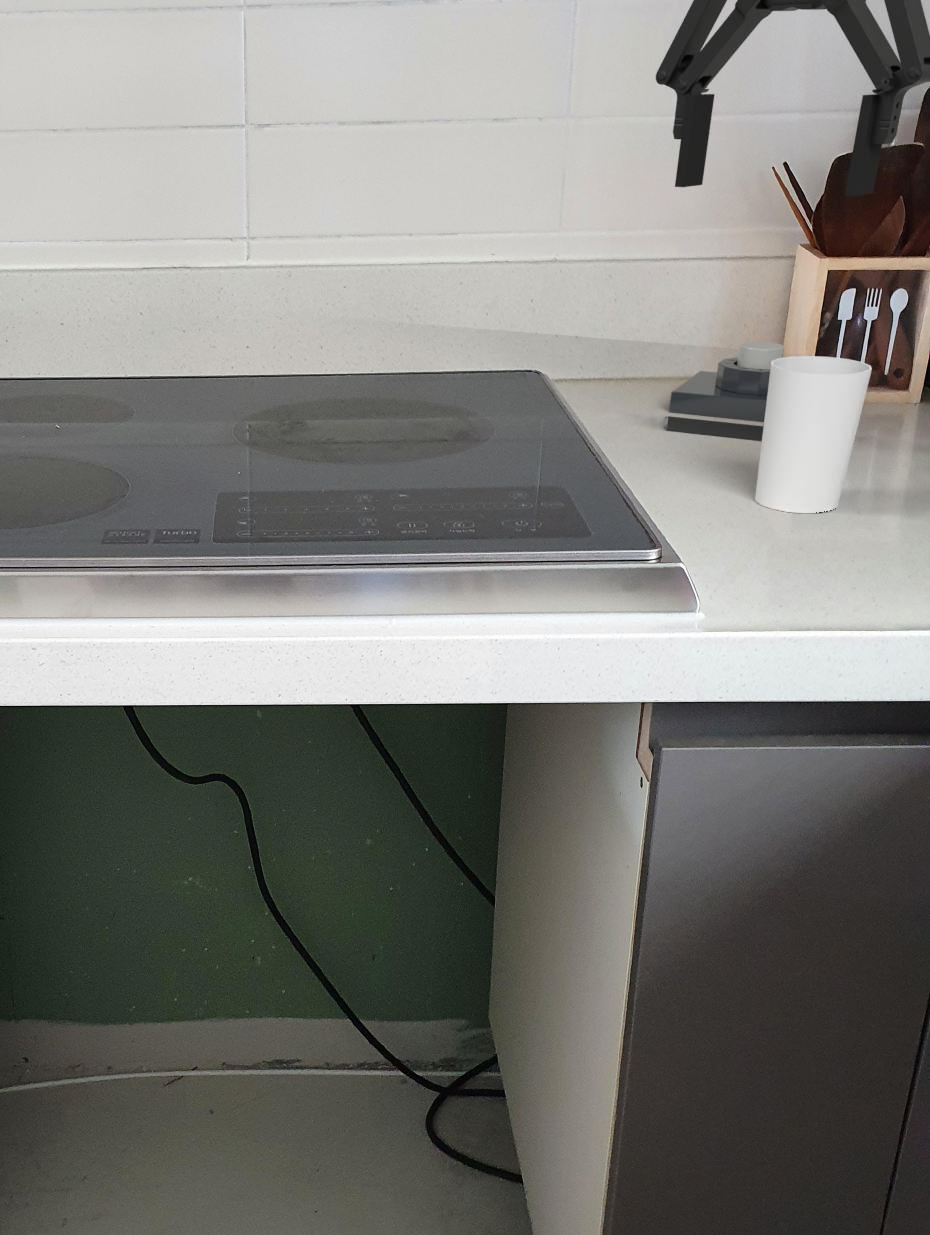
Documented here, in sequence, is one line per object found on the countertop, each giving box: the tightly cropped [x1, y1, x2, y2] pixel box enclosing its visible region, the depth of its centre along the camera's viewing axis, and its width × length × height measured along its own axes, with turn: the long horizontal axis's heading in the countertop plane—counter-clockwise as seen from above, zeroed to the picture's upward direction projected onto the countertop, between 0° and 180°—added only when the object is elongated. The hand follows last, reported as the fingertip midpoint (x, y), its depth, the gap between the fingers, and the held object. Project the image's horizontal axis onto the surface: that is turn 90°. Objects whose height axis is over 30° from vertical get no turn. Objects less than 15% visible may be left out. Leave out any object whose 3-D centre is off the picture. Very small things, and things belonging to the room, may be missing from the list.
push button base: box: [665, 356, 770, 442], centre depth 119 cm, size 12×10×6 cm
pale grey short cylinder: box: [737, 341, 785, 369], centre depth 117 cm, size 4×4×2 cm
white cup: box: [754, 355, 873, 514], centre depth 97 cm, size 7×7×10 cm
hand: (769, 190), depth 101 cm, fingers open, 13 cm apart
